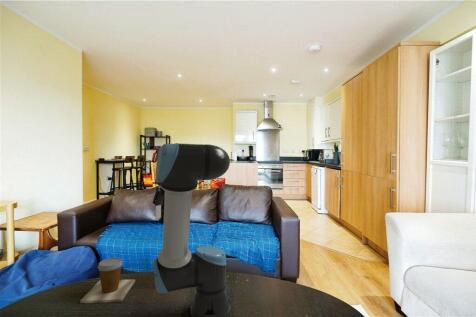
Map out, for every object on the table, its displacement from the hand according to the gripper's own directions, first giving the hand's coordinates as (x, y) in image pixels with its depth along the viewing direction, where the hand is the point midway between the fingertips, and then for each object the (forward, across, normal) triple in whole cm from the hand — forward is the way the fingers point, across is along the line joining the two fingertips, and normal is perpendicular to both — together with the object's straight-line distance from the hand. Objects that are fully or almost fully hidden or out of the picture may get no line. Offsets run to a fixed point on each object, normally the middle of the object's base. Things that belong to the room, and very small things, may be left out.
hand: (165, 220), depth 121 cm
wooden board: (+27, +4, +25) cm, 37 cm away
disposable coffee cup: (+26, +4, +25) cm, 36 cm away
